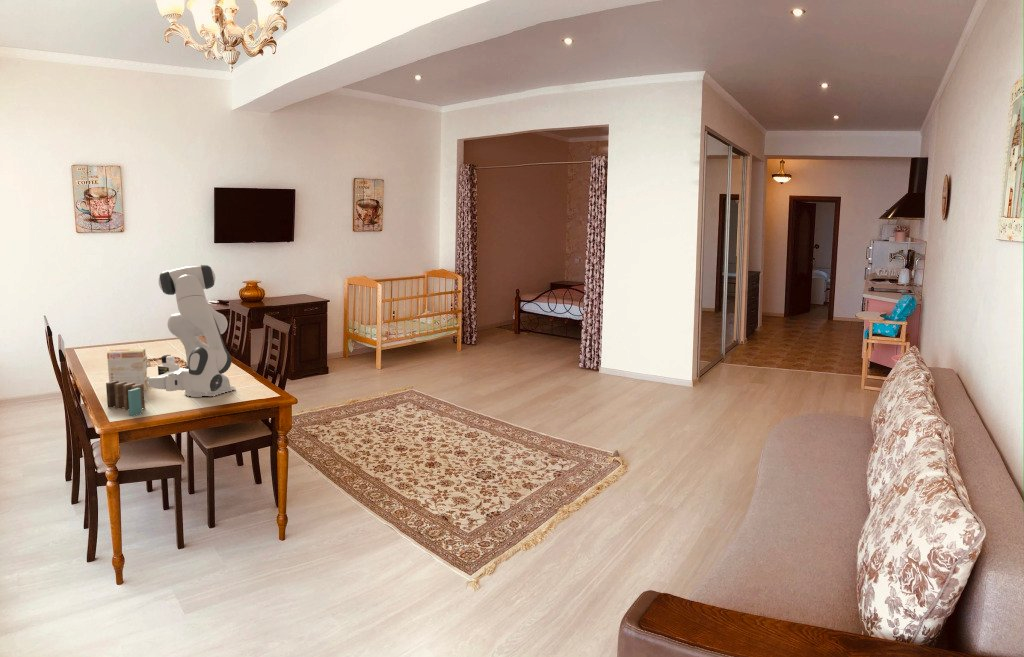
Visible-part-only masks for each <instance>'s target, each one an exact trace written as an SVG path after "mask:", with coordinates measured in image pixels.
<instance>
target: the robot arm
mask: <svg viewBox="0 0 1024 657" xmlns="http://www.w3.org/2000/svg"><path fill="white" fill-rule="evenodd" d="M215 283H216V274H215V272H214V270H213V268H212V267H211V266H210V265H207V264H201V265H191V266H188V265H187V266H183V267H179V268H174V269H170V270H165V271H162V272H160V274H159V278H158V285H159V289H160V290H161V291H162V292H163V293H164V295H168V296H174V295H175V300H176V304H177V310H178V312H177V313H172V314H171V315H170V316H169V318H168V320H167V329H168V331H169V332H170V333H171V334H172V335H173V336H175V337H176V338H177V339H178V340H179V341H180V342H181V344H182V346H183V347H184V350H185V358H186V365H185V367H184V368H183V367H181V368H179V370H177V371H173V372H165V373H164V374H162V375H158V374H157V375H155V376H147V378H146V380H147V383H148V387H150V388H152V389H158V390H165V391H167V392H174V391H184V395H185V396H186V395H187V396H186V397H189V396H191V398H203V397H202V396H213V397H215V396H214V395H217V396H219V395H218V394H220V395H222V394H221V393H224V394H226V393H225V392H227V393H229V392H228V391H231V392H233V391H232V390H234V391H236V386H233V385H231V383H230V382H231V381H230V379H229V377H228V376H227V375H224V373H226V372H227V371H228V370H229V369H230V367H231V366H232V356H231V354H230V352H229V351H228V349H227V347H226V345H225V342H224V340H223V337H222V335H223V334H224V333H225V332H226V331H227V328H228V320H227V318H226V316H225V315H224V314H223V313H220V312H219V311H217V310H216V309H214V308H213V307H212V306H211V305H210V304H209V302H208V300H207V298H206V294H205V290H209V289H211V288H213V287H214V285H215ZM199 336H200V337H201V336H202V337H204V338H205V341H206V343H205V342H203V341H202V340H200V338H199Z"/></svg>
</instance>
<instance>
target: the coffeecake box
mask: <svg viewBox="0 0 1024 657" xmlns="http://www.w3.org/2000/svg"><path fill="white" fill-rule="evenodd" d="M106 356H107V358H106V359H107V371H108V382H112V381H119V383H120V382H127V384H128V383H132V382H133V383H135V385H137V384H140V383H141V384H144V392H145V391H146V390H147V389H148V387H149V385H148V381H147V380H146V378H147V377H148V372H147V371H148V370H147V369H148V367H147V368H146V356H147V353H146V348H134V349H133V348H132V349H131V348H130V349H129V348H128V349H110V350H109V351H107V353H106Z"/></svg>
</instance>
